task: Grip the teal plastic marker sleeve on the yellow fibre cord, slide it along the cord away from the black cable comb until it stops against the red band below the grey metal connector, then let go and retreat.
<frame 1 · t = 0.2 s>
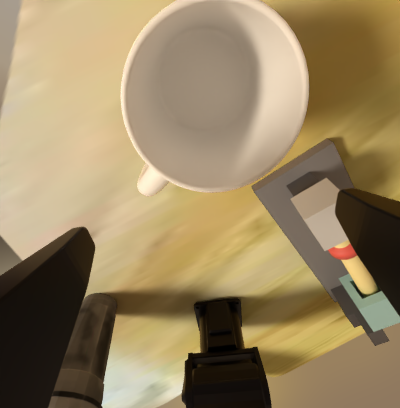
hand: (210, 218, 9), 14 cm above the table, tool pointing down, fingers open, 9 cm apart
mug: (189, 104, 20), on the table
beverage cup: (100, 302, 34), on the table
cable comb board: (329, 233, 28), on the table
marker sleeve: (373, 297, 25), point 6 cm above the table, slide at 0.0 cm
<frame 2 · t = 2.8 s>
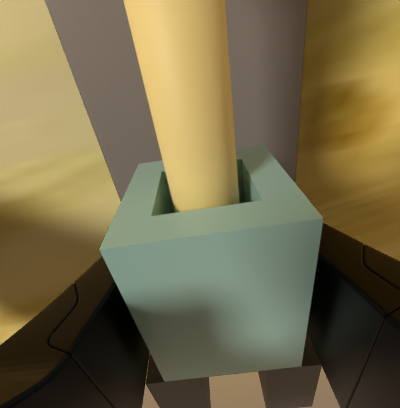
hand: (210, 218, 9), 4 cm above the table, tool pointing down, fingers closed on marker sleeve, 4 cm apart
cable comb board: (187, 56, 9), on the table
marker sleeve: (215, 259, 7), point 6 cm above the table, slide at 0.0 cm, touching gripper
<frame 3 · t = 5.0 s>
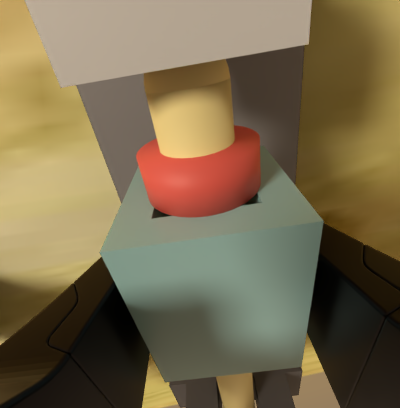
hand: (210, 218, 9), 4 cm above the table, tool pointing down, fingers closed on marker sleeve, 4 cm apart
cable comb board: (208, 200, 13), on the table
marker sleeve: (215, 260, 7), point 6 cm above the table, slide at 6.5 cm, touching gripper
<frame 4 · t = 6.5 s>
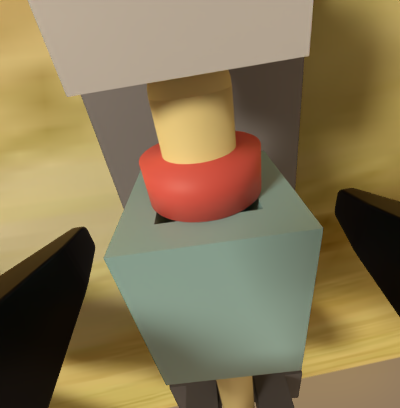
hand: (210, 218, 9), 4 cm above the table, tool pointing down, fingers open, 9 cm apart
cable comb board: (209, 202, 13), on the table
marker sleeve: (216, 264, 7), point 6 cm above the table, slide at 6.5 cm
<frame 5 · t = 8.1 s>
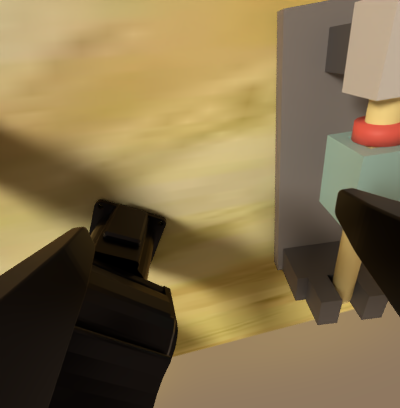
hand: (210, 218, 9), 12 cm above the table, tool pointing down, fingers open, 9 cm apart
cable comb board: (322, 164, 21), on the table
marker sleeve: (368, 178, 15), point 6 cm above the table, slide at 6.5 cm
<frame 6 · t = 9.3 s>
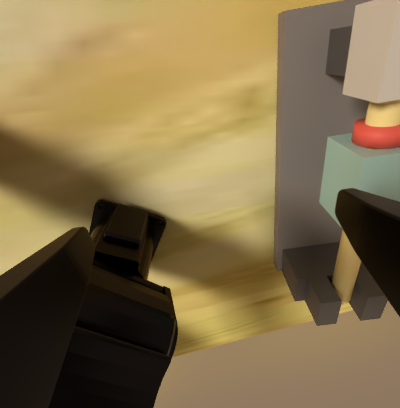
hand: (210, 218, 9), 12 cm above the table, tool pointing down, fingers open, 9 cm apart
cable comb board: (322, 165, 21), on the table
marker sleeve: (368, 180, 15), point 6 cm above the table, slide at 6.5 cm
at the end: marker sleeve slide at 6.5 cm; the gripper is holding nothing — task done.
